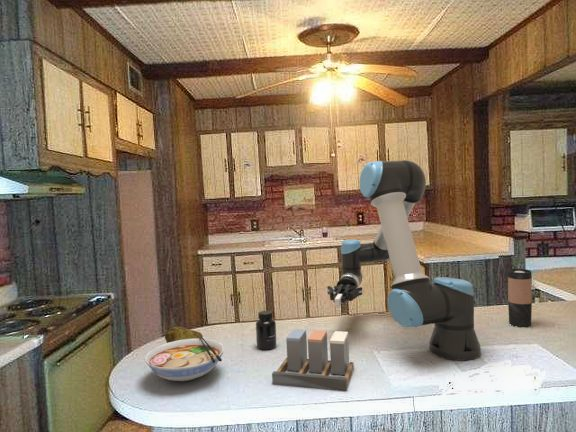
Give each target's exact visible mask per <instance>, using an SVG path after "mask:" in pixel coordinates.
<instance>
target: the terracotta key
mask: <svg viewBox="0 0 576 432" xmlns="http://www.w3.org/2000/svg"><path fill="white" fill-rule="evenodd" d="M328 353H329V351H328V331H327V330H321V329H320V330H319V329H313V331H312V332H311V334H310V336H309V337H308V338H307V358H308V359H309V369H308V373H315V374H316V373H317V374H322V372H323V370H324V368H325V366H326V364H327V362H328V360H329V355H328Z"/></svg>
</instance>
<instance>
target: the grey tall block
mask: <svg viewBox="0 0 576 432" xmlns="http://www.w3.org/2000/svg"><path fill="white" fill-rule="evenodd" d="M349 344H350V343H349V331H341V330H339V331H338V330H337V331H336V330H335V331H334V332H333V334H332V335H331V338H330V339H329V352H330V357H329V358H330V361H331V370H330V374H331V375H339V376H340V375H341V376H343V375H344V376H345V374H346V371H347V369H348V366H349V363H350V351H349V350H350V349H349Z"/></svg>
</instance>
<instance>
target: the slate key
mask: <svg viewBox="0 0 576 432" xmlns="http://www.w3.org/2000/svg"><path fill="white" fill-rule="evenodd" d="M285 341H286V358H287V364H288V368H287V371H291V372H294V371H295V372H299V371H300V370H301V368H302V367H303V365H304V363H305V362H306V360H307V359H308V338H307V329H300V328H294V329H292V330H291V332H290V333H289V334H288V335H287V336H286V340H285Z"/></svg>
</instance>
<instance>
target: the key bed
mask: <svg viewBox="0 0 576 432" xmlns="http://www.w3.org/2000/svg"><path fill="white" fill-rule="evenodd" d="M354 367H355V366H354V362H353V361H349V366H348V368H347V371H346V374H345V375H344V376H335V375H334V376H333V375H329V374H330V373H331V359H328V362H327V364H326V366H325V368H324V370H323V372H322V373H320V374H310V373H308V372H309V358H307V360H306V362H305V363H304V365H303V367H302V368H301V370H300V371H298V372H287V370H288V364H287V357H286V358H284V360H283V362H282V363H281V364H280V366H279V368H277V370H275V371H272V373H271V380H272V381H271V382H272V383H271V384H272V385H277V386H291V387H301V388H309V389H310V388H311V389H321V390H333V391H343V392H346V391H348V390H347V389H348V387H349V384H350V381H351V378H352V375H353V372H354Z"/></svg>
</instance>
